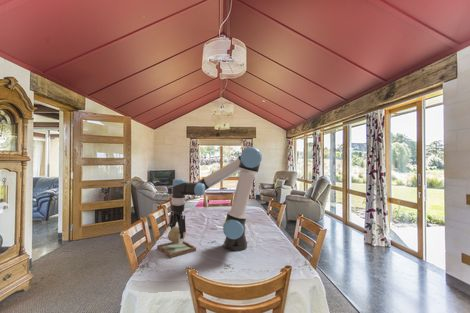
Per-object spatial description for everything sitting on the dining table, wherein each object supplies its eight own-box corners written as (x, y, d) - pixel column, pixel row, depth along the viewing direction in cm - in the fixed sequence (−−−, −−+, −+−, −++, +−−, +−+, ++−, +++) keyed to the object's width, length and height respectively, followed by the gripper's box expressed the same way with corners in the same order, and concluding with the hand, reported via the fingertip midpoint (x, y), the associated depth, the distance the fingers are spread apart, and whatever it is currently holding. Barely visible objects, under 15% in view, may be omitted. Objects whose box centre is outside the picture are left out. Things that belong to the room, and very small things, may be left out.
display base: (196, 251, 144) (196, 247, 144) (170, 258, 133) (170, 254, 133) (181, 242, 157) (182, 239, 157) (157, 248, 145) (157, 245, 145)
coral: (174, 226, 153) (185, 222, 148) (177, 243, 150) (189, 239, 146) (163, 229, 144) (175, 225, 140) (166, 246, 142) (178, 242, 137)
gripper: (193, 206, 139) (191, 245, 139) (175, 200, 155) (173, 235, 155) (181, 208, 134) (180, 248, 134) (164, 201, 150) (163, 237, 150)
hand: (176, 241), depth 145 cm, fingers closed on coral, 9 cm apart
